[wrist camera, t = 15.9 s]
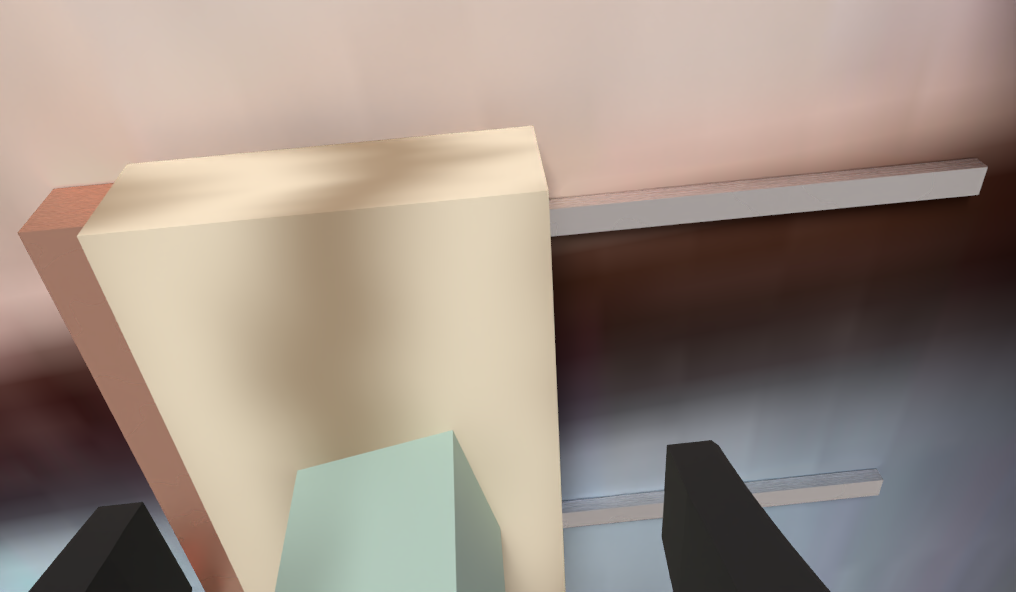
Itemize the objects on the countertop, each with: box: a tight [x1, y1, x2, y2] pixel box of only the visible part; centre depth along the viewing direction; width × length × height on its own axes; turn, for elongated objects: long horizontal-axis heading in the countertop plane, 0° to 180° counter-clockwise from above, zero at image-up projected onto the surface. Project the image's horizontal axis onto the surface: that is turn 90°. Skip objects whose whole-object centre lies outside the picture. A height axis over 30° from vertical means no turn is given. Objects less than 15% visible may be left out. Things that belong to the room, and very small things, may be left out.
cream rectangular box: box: [77, 126, 565, 592], centre depth 22 cm, size 9×18×4 cm, turn 4°
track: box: [18, 158, 988, 592], centre depth 23 cm, size 23×16×2 cm
